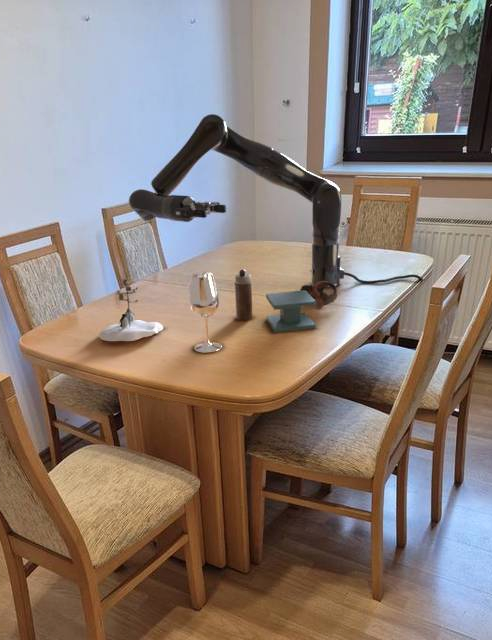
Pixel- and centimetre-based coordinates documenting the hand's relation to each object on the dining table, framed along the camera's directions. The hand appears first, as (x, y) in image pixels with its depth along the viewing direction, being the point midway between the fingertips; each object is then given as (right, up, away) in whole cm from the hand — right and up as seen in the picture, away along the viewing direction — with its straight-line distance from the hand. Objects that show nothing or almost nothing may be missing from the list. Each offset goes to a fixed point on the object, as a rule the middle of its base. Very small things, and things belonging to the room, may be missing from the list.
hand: (215, 211), depth 173 cm
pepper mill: (+9, -30, +7) cm, 32 cm away
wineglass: (-2, -43, -13) cm, 45 cm away
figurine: (-25, -37, 0) cm, 45 cm away
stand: (+22, -34, -1) cm, 40 cm away
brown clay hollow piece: (+33, -24, +14) cm, 43 cm away
